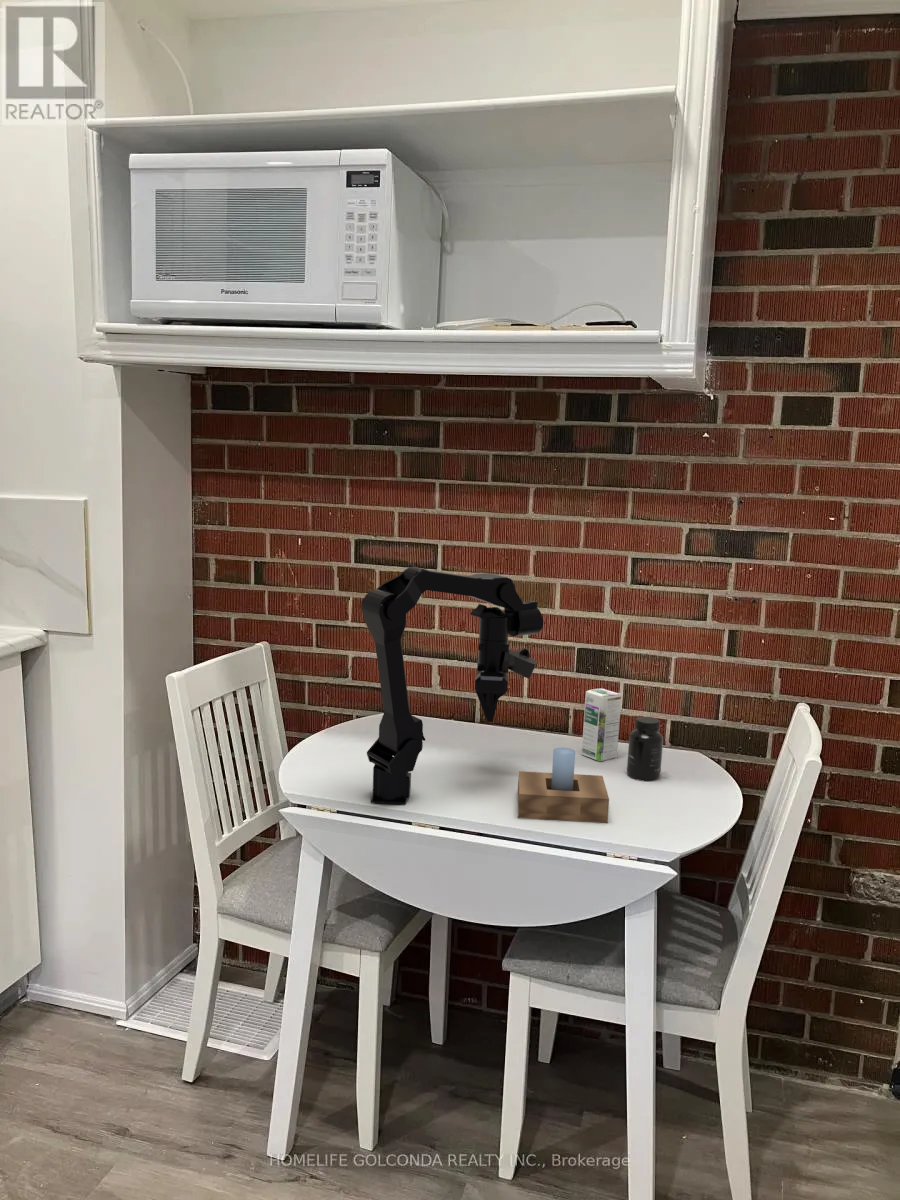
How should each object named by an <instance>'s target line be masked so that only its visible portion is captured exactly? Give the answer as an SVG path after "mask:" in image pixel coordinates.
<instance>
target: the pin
mask: <svg viewBox="0 0 900 1200" xmlns="http://www.w3.org/2000/svg"><path fill="white" fill-rule="evenodd" d="M575 761H576V751H575V750H574V749H572V748H570V747H555V748H554V749H553V753H552V769H551V773H552V785H551V790H564V791H573V781H574V774H575V763H576V762H575Z"/></svg>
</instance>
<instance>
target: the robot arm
mask: <svg viewBox="0 0 900 1200" xmlns="http://www.w3.org/2000/svg"><path fill="white" fill-rule="evenodd" d="M427 591H430V592H431V591H432V592H439V593H445V594H452V595H459V596H460V595H461V596H466V597H470V598H471V599H474V600H478V601H481V602H482V603H483V602H484V603H486V604H491V605H493V606H491V607H487V605H484V604H480V603H479V604H477V606H476V607H475V608H474V609H472V611H471V612H470V616H471V617H475V618H478V619H479V629H478V630H479V631H478V632H479V633H478V652H477V653H478V655H477V666H476V667H477V668H476V669H477V673H476V674H477V675H475V681H474V692H475V694H476V696H477V699H478V700H479V704H480V706H481V709H482V711H483V714H484V717H485V719H486V722H487V723H493V721H494V717H495V713H496V710H497V706H498V703H499V700H500V698H501V697H502V696H504V695H506V694H507V693H508V685H509V678H508V677H507V676H508V674H509V671H511V672H514V673H516V674H519V675H521V676H522V677H523V678H526V679H531V676H532V675H533V673H534V671H535V667H536V665H537V661H536V659H534V657H531V654H530V649H527V648H525V647H522V648H520V649H519V650H518V651H517V650H512V649H510V643H509V635H510V636H511V637H519V636H528V635H537V634H539V633H540V632H542V630H543V627H544V619H543V616H542V611H540V609H539V607H538V602H537V601H536V600H525V601H522V599H521V598H520V595H519V594H518V592H517V590H516V586H515V583H514V581H513V579H512V578H510V577H506V576H502V575H500V574H499V575H498V574H493V573H490V572H487V573H474V574H470V575H462V574H457V573H448V572H445V571H443V572H442V571H436V570H430V569H429V570H428V569H425V568H421V567H417V566H410V567H407V568H406V569H405V570H403V571H402V572H401V573H400V574H398V575H397V576H394V577H393V578H390V579H389V580H387V581H385V582H383V583H381V584H380V586H378V587H377V588H375V589H372V590H369V592H367V593H366V594H365V596H364V597H363V598H362V600H361V602H360V603H361V604H360V606H361V609H360V610H361V612H362V616H363V619H364V622H365V625H366V627H367V629H368V631H369V632H370V634H371V637H372V638H373V640H374V645H375V646H374V647H375V651H376V659H377V667H378V668H377V669H378V676H379V683H380V684H379V685H380V690H381V691H380V692H381V698H382V699H381V700H382V707H383V714H382V717H381V720H380V722H379V726H378V738H377V739H376V740H375V742H374V743H373V744H372V745H371V746H370V747H369V749H368V750H367V751H366V756H367V759H368V762H370V763H372V764H374V766H373V768H372V795H371V798H370V802H371V803H373V804H389V805H392V804H393V805H406V803H407V801H408V799H409V798H410V796H411V789H412V784H411V783H412V772H413V771H414V770H415V767H416V763H417V762H418V761H417V760H418V757H419V755H420V752H422V750H423V745H424V744H423V743H424V742H423V741H426V737H425V736H424V733H423V732H424V730H423V729H424V723H423V720H422V719H420V718H418V717H416V716H414V715H413V714H412V712H411V711H410V703H409V693H408V687H407V677H406V670H405V669H406V668H405V661H404V660H405V659H404V654H403V645H402V637H403V634H404V631H405V629H406V627H407V616H408V615H407V614H408V613H409V612H410V611H411V610H412V609H413V608H414V607H416V605H417V604H418V602H419V600H420V598H421V596H422V595H423V593H425V592H427ZM499 607H500V608H499ZM501 608H504V610H502V609H501Z"/></svg>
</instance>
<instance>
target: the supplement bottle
mask: <svg viewBox="0 0 900 1200" xmlns="http://www.w3.org/2000/svg"><path fill="white" fill-rule="evenodd" d="M660 728H661V727H660V720H659V719H657V718H655V717H653V716H652V717H651V716H638V717H636V718H635V724H634V730H632V731H631V732H630V734H629V737H628V751H627V762H626V763H627V764H626V774H627V775H628V776H629V777H630V778H631V779H635V780H637V779H638V781H642V780H644V781H643V782H652V781H657V780H658V779H659V778H660V777H661V771H662V761H663V760H662V759H663V758H662V757H663V745H664V738H663V734H661V733H660V732H659V731H660Z"/></svg>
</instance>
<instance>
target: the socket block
mask: <svg viewBox="0 0 900 1200" xmlns="http://www.w3.org/2000/svg"><path fill="white" fill-rule="evenodd" d="M517 777H518V779H517V780H518V782H517V816H518V817H517V818H518V819H531V820H532V819H533V820H535V819H536V820H551V821H554V820H555V821H569V822H570V821H571V822H586V823H587V822H588V823H589V822H590V823H603V824H605V823H606V824H608V821H609V820H608V819H609V809H610V807H609V805H610V797H609V794H608V791H607V786H606V783H605V780H604V776H603V775H595V774H580V773H579V774H577V773H574V781H573V791H564V790H551V785H552V772H539V771H521V770H519V771H518V776H517Z"/></svg>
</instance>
